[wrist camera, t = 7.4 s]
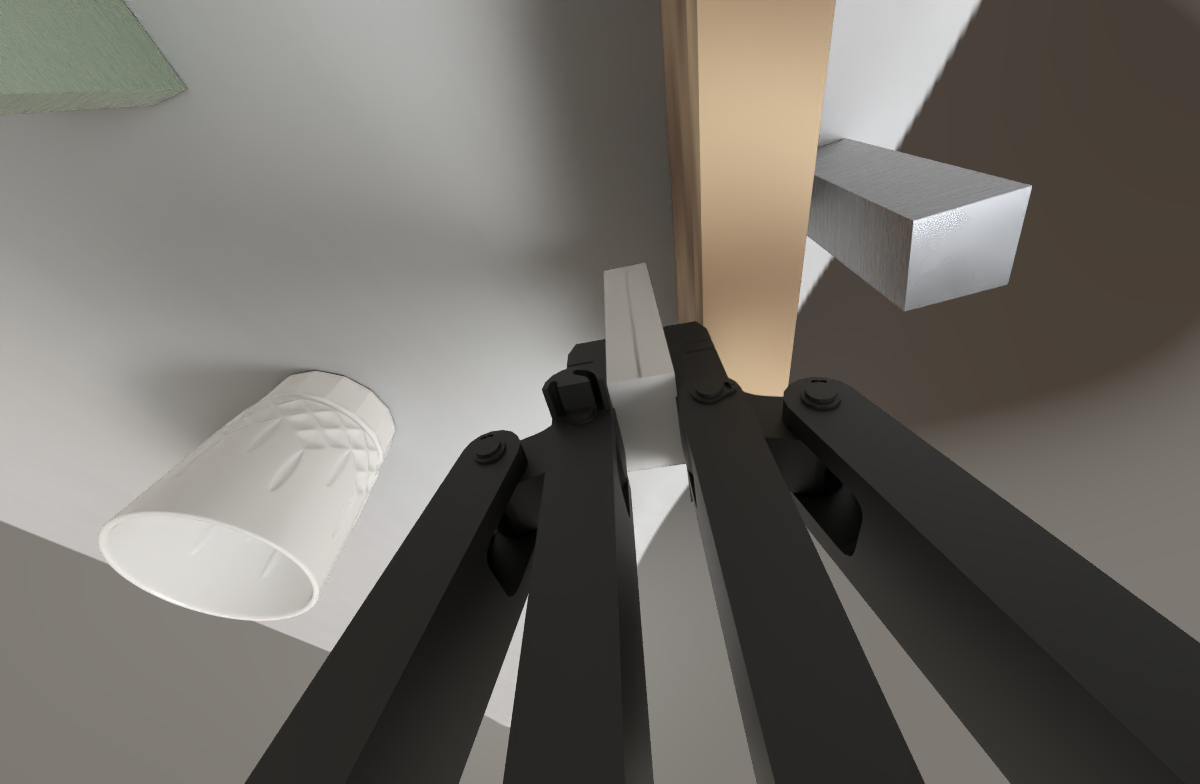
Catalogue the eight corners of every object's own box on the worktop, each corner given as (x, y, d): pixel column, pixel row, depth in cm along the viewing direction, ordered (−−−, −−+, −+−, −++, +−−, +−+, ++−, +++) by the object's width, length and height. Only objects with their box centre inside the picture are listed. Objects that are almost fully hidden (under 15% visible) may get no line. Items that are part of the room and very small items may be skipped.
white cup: (356, 479, 29) (259, 637, 21) (238, 406, 25) (64, 563, 17) (433, 426, 26) (356, 585, 18) (313, 334, 22) (146, 482, 14)
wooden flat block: (643, -110, 12) (690, -331, 6) (729, -131, 12) (883, -386, 5) (674, 359, 22) (706, 484, 15) (723, 353, 21) (776, 477, 15)
